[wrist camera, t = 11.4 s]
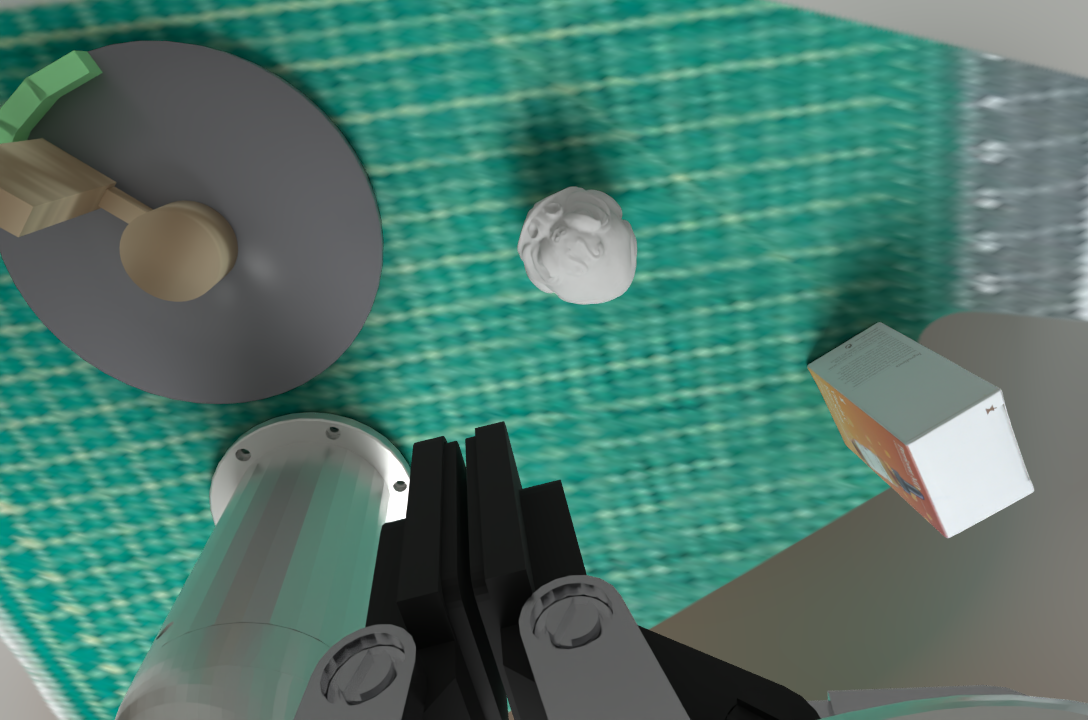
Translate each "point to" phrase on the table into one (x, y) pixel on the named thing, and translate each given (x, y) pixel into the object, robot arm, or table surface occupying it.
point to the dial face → (219, 182)
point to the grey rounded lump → (578, 246)
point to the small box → (924, 427)
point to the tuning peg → (151, 235)
